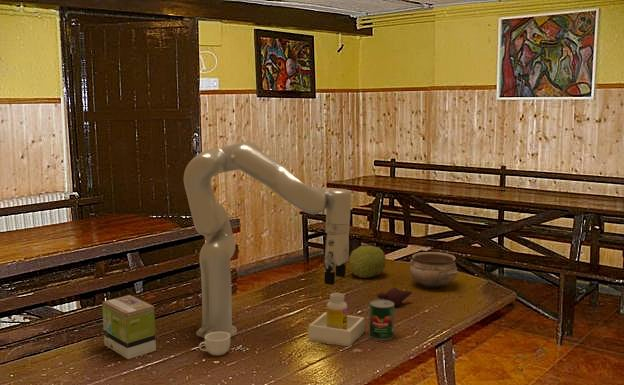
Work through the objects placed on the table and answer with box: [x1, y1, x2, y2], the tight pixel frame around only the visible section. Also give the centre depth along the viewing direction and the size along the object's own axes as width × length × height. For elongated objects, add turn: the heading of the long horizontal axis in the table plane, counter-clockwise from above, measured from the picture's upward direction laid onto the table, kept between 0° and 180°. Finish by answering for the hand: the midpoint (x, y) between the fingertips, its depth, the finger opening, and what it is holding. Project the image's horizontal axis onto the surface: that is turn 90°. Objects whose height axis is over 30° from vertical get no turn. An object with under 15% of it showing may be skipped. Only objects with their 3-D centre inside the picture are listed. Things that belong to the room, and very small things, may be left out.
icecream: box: [377, 286, 413, 307], centre depth 246 cm, size 7×8×15 cm
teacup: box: [198, 331, 231, 356], centre depth 201 cm, size 10×8×5 cm
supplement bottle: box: [326, 292, 348, 330], centre depth 215 cm, size 7×7×13 cm
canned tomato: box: [368, 299, 395, 341], centre depth 216 cm, size 8×8×11 cm
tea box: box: [101, 294, 157, 360], centre depth 204 cm, size 15×10×15 cm, turn 45°
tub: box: [308, 311, 366, 348], centre depth 215 cm, size 14×14×5 cm
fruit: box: [348, 245, 387, 279], centre depth 285 cm, size 16×14×15 cm
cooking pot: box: [409, 251, 459, 289], centre depth 271 cm, size 25×19×12 cm
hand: (334, 280), depth 213 cm, fingers open, 9 cm apart
